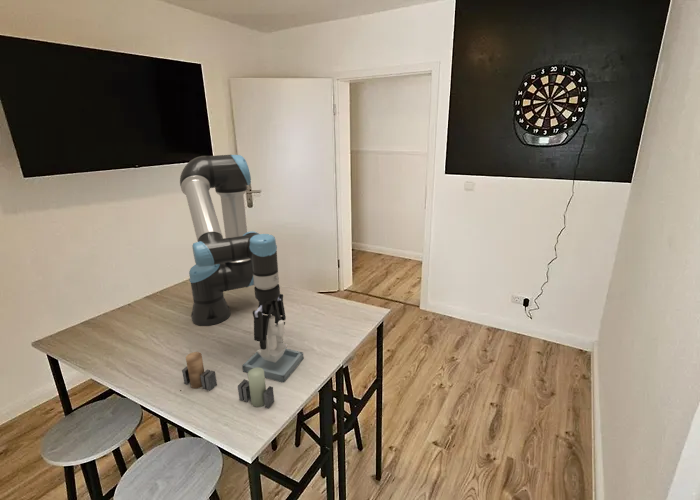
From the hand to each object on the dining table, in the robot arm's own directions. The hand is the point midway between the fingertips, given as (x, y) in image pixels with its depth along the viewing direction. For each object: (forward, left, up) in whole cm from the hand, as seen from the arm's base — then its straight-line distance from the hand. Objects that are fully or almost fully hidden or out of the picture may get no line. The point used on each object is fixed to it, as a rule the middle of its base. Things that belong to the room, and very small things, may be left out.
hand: (272, 349), depth 119 cm
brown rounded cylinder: (-17, -16, -6) cm, 24 cm away
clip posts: (-6, -16, -6) cm, 18 cm away
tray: (0, 0, -6) cm, 6 cm away
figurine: (0, 0, -3) cm, 3 cm away
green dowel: (+5, -16, -6) cm, 18 cm away
